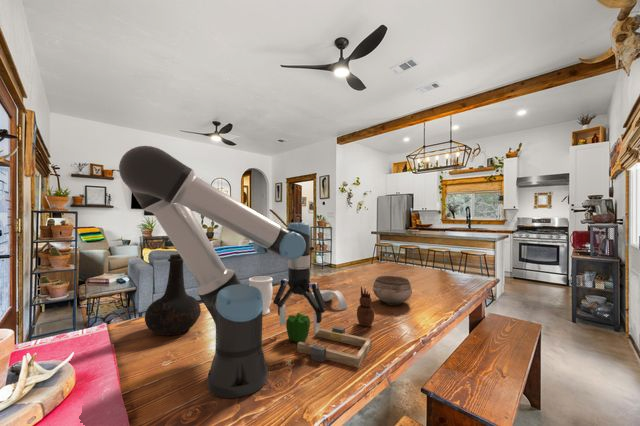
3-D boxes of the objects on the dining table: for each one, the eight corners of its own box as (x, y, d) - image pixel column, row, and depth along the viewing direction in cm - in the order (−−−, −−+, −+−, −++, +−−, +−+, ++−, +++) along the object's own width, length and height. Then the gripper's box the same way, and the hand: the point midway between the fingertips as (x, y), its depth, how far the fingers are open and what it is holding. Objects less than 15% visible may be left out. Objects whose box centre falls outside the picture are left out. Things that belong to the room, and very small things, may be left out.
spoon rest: (307, 298, 143) (307, 284, 143) (326, 295, 149) (326, 282, 149) (333, 312, 123) (333, 296, 123) (353, 308, 129) (354, 292, 129)
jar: (266, 317, 115) (267, 282, 115) (243, 315, 117) (244, 280, 117) (275, 309, 125) (276, 276, 125) (254, 307, 127) (255, 275, 127)
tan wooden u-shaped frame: (356, 371, 76) (356, 358, 76) (294, 354, 85) (294, 342, 85) (373, 344, 93) (373, 334, 93) (319, 332, 101) (319, 322, 101)
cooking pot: (395, 294, 152) (396, 272, 152) (424, 304, 135) (424, 279, 136) (360, 301, 139) (360, 277, 139) (387, 313, 123) (387, 285, 123)
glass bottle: (132, 336, 95) (134, 256, 96) (175, 318, 112) (177, 250, 112) (171, 345, 89) (172, 259, 90) (210, 325, 106) (211, 252, 106)
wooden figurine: (354, 324, 109) (354, 286, 110) (362, 320, 114) (362, 284, 114) (368, 329, 105) (369, 290, 105) (376, 325, 109) (377, 287, 109)
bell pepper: (287, 334, 99) (288, 306, 99) (310, 334, 99) (310, 307, 99) (283, 345, 91) (284, 315, 91) (308, 346, 91) (309, 315, 91)
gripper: (336, 268, 93) (336, 330, 93) (275, 262, 104) (275, 318, 104) (327, 272, 86) (327, 339, 87) (263, 265, 97) (263, 325, 97)
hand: (299, 328), depth 95 cm, fingers open, 13 cm apart
